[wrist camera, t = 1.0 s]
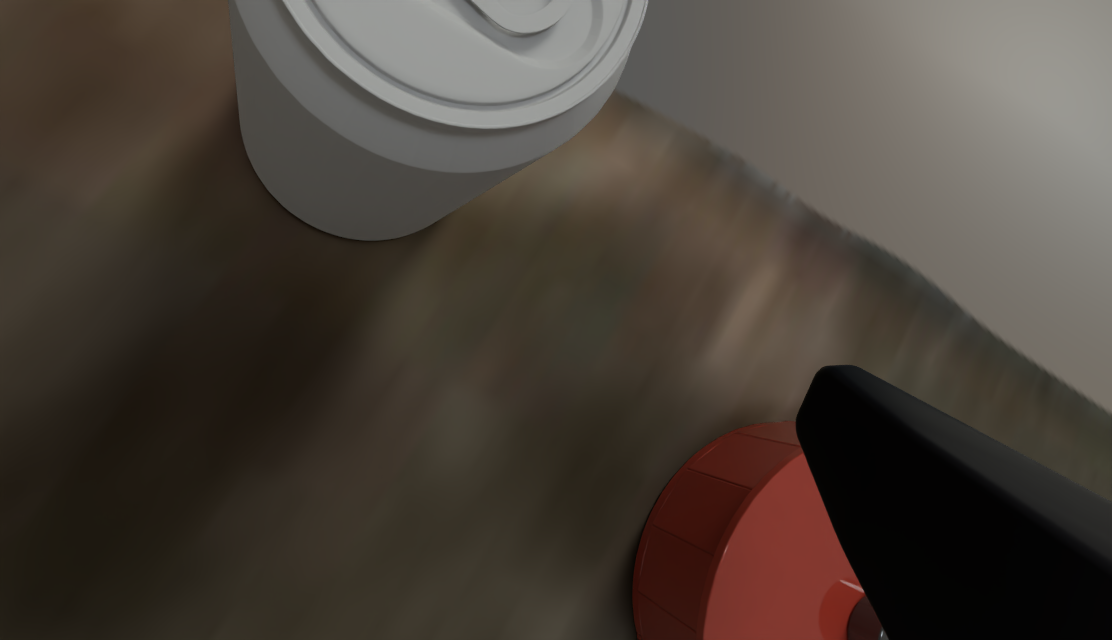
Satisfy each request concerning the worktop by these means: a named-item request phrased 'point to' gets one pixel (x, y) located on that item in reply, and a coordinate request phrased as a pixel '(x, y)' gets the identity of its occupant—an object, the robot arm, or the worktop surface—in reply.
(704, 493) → the pot
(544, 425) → the worktop surface
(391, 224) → the beverage can
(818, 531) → the pot lid
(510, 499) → the worktop surface
